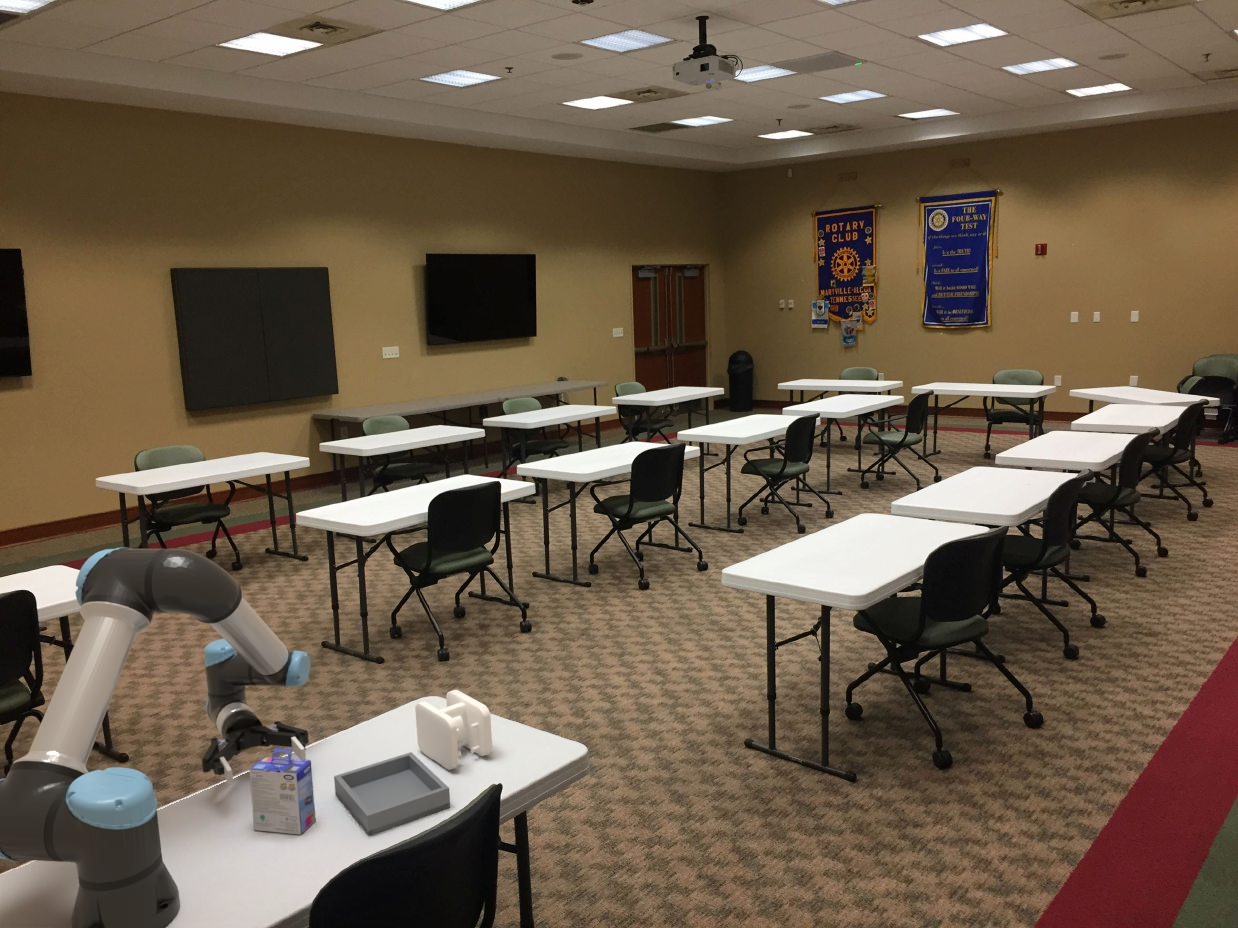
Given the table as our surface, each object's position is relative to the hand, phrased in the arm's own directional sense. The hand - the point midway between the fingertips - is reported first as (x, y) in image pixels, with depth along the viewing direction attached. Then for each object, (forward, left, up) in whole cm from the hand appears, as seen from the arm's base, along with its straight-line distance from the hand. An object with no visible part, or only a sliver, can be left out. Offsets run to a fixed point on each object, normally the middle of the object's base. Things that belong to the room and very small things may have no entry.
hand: (267, 765), depth 181 cm
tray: (+19, -14, -8) cm, 25 cm away
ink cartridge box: (0, -10, -8) cm, 12 cm away
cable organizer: (+37, -4, -8) cm, 38 cm away
